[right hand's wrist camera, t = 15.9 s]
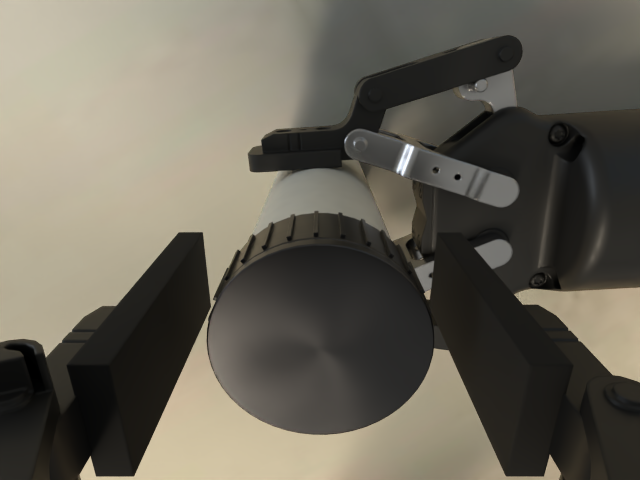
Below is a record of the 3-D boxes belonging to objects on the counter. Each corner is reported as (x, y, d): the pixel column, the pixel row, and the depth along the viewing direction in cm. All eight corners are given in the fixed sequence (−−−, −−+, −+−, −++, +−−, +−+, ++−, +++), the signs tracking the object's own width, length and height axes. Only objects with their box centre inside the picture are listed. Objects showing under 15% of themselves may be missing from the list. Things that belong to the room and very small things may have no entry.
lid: (223, 375, 13) (205, 431, 11) (221, 202, 11) (199, 232, 9) (402, 385, 13) (417, 442, 11) (433, 217, 11) (458, 250, 9)
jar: (286, 128, 24) (238, 219, 10) (372, 148, 24) (447, 264, 10) (270, 211, 26) (209, 390, 12) (350, 229, 26) (387, 422, 12)
